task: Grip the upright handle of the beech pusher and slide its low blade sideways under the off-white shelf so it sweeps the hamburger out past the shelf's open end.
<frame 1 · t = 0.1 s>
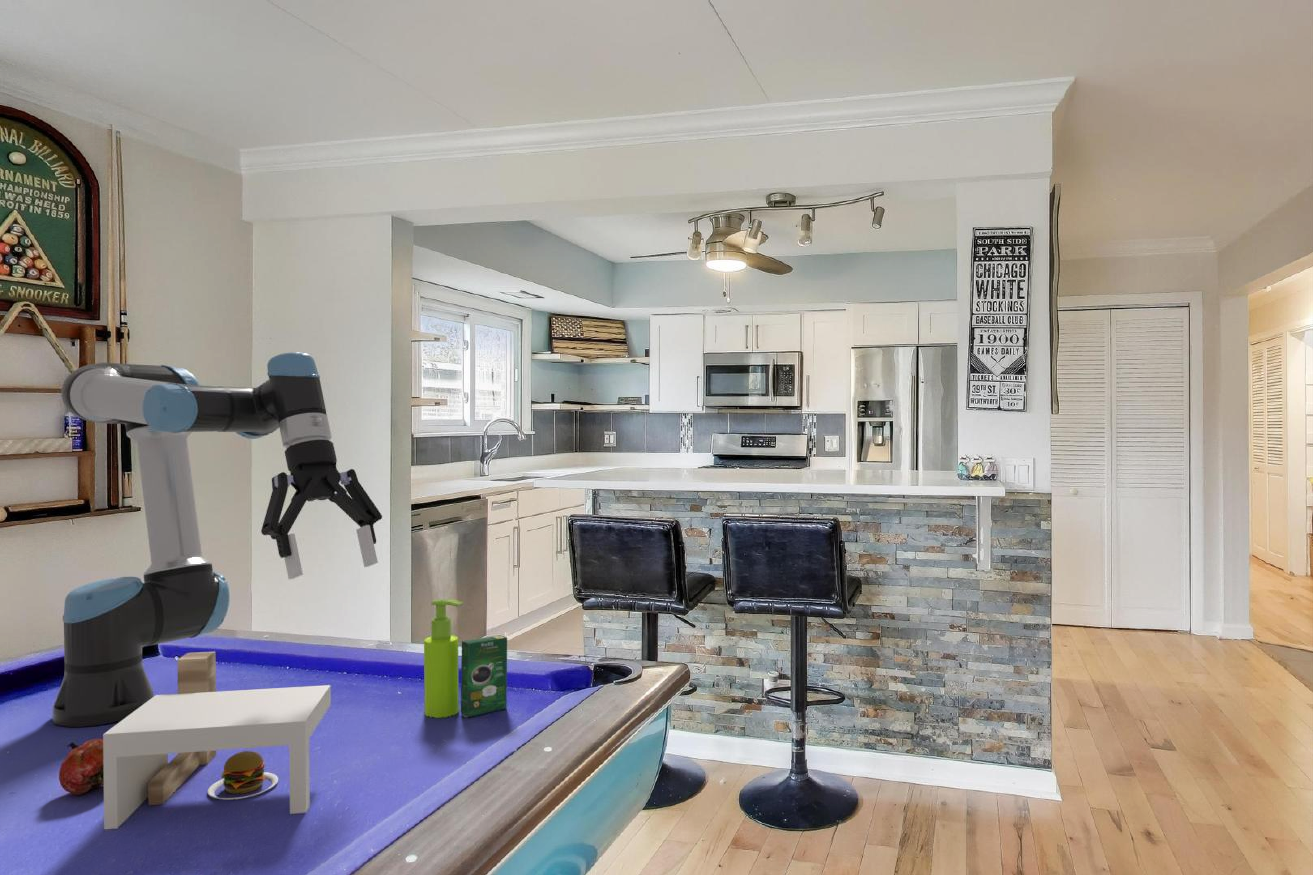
hand: (335, 571, 133), 28 cm above the table, tool tilted 20°, fingers open, 13 cm apart
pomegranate: (93, 792, 116), on the table
shelf: (227, 794, 115), on the table
soap dispenser: (444, 713, 148), on the table
pusher: (197, 760, 127), on the table
hamburger: (243, 793, 117), on the table
coffee box: (484, 712, 148), on the table
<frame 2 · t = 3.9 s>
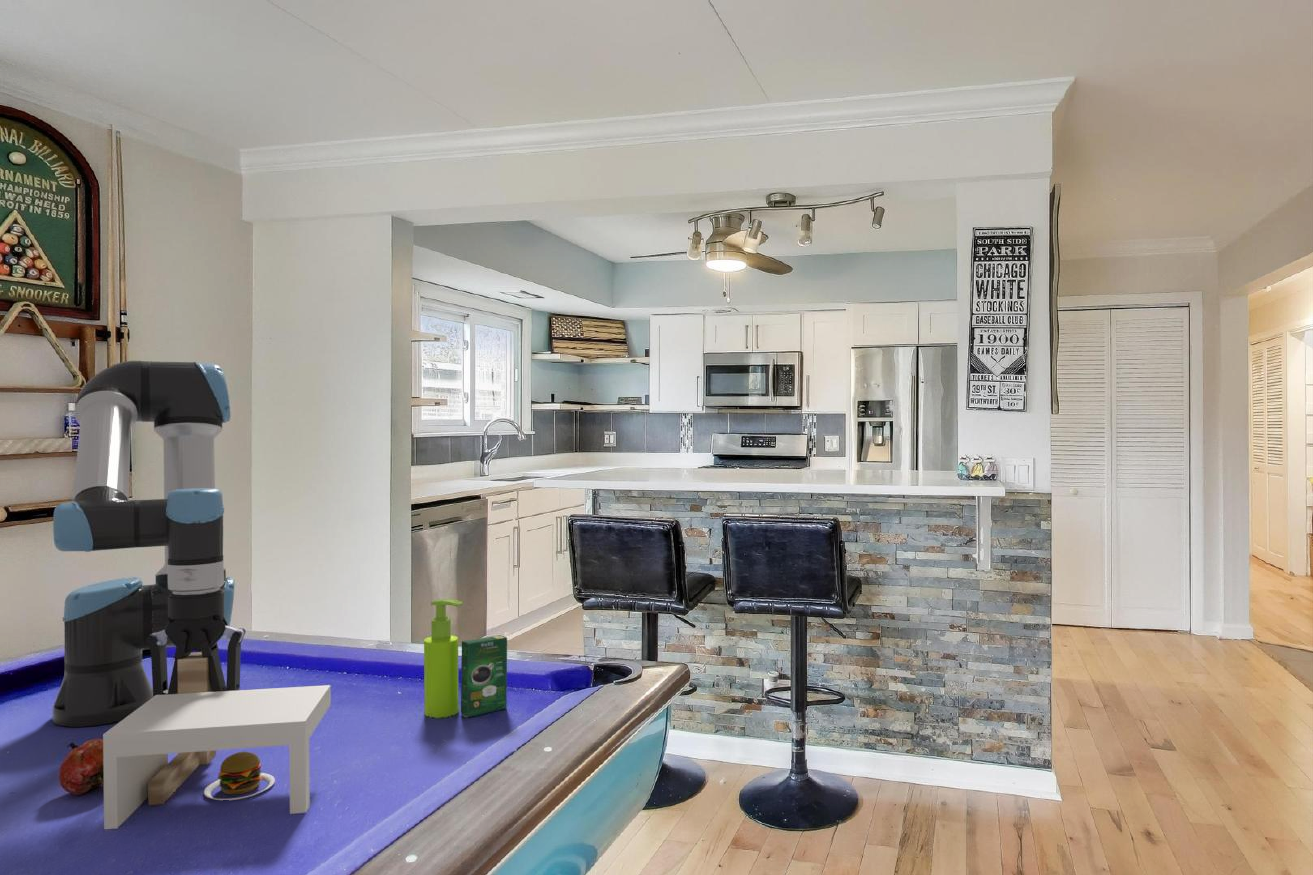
hand: (197, 742, 127), 3 cm above the table, tool pointing down, fingers closed on pusher, 4 cm apart
pusher: (197, 760, 127), on the table, touching gripper
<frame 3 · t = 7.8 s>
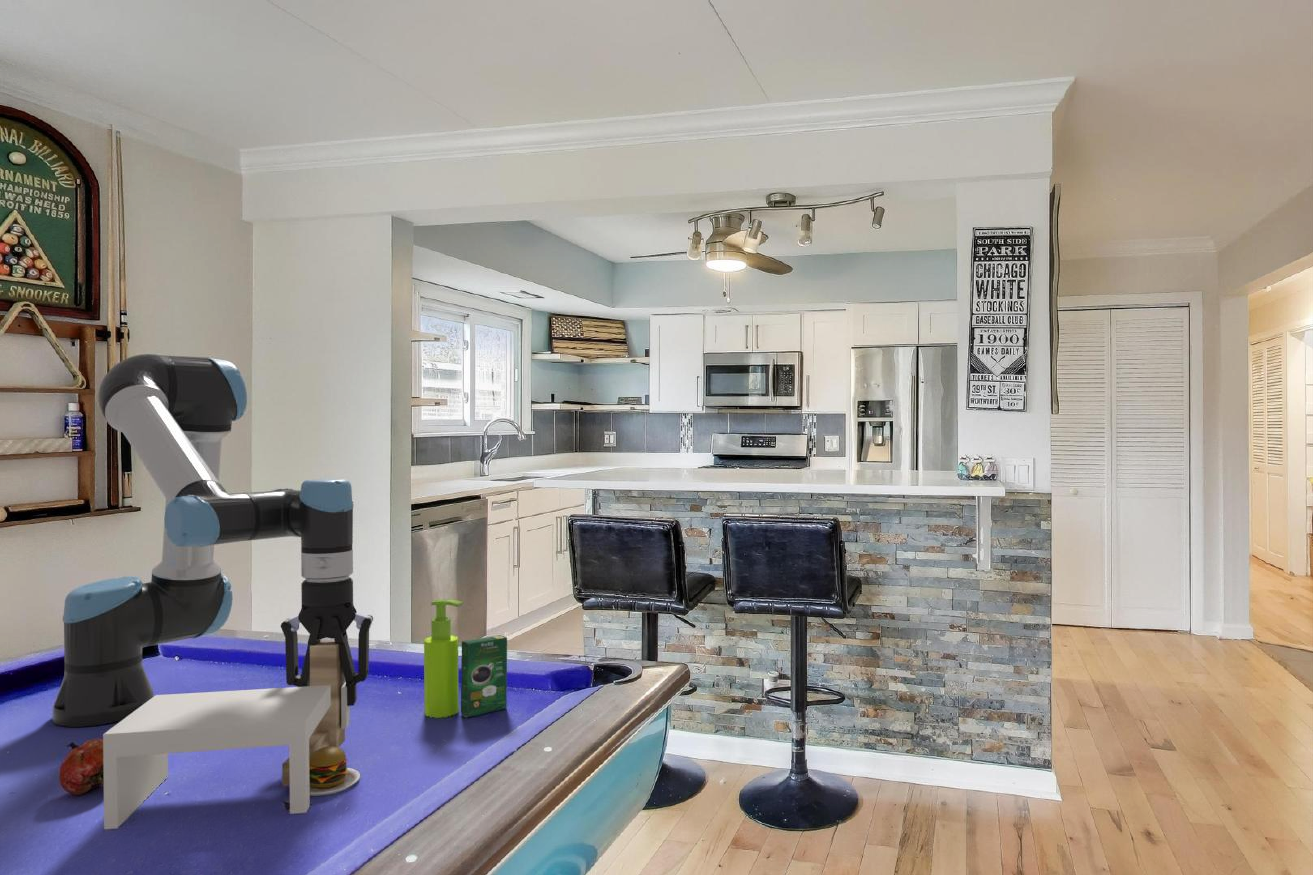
hand: (328, 726, 130), 4 cm above the table, tool pointing down, fingers closed on pusher, 4 cm apart
pusher: (327, 745, 130), point 1 cm above the table, touching gripper
hamburger: (326, 788, 118), on the table
everything else where it was.
when the fingers open (3 cm above the table, at t = 11.0 s): pusher stays where it is, on the table.
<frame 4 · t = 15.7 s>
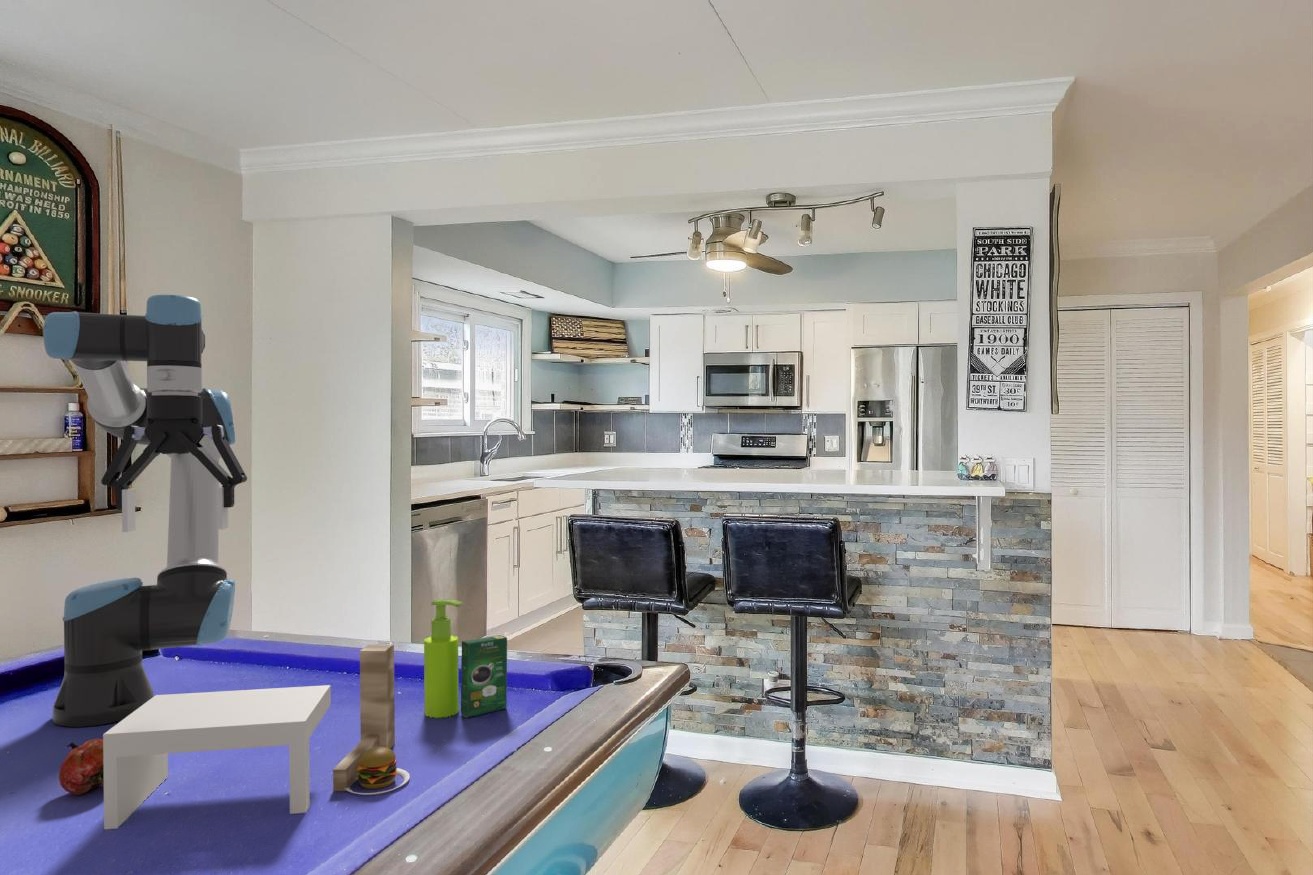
hand: (176, 530, 131), 35 cm above the table, tool pointing down, fingers open, 13 cm apart
pusher: (378, 748, 131), on the table
hamburger: (377, 789, 118), on the table
everything else where it was.
at the end: hamburger inside the target area (5.7 cm from its centre), on the table; hamburger moved 18.4 cm from its start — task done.
